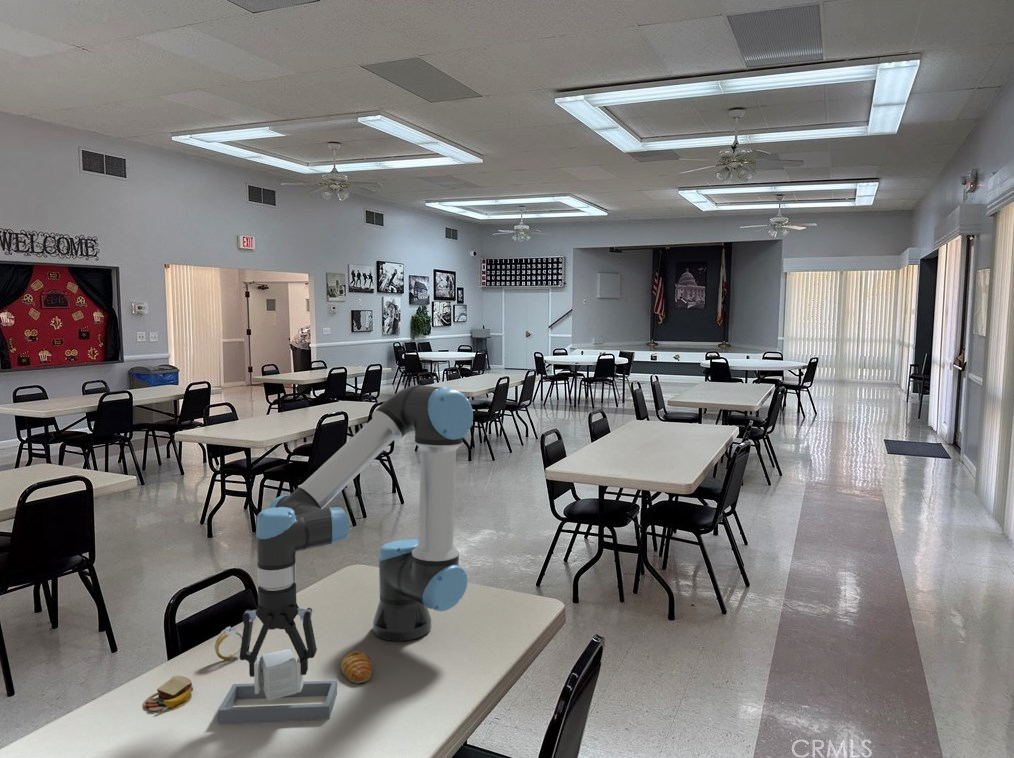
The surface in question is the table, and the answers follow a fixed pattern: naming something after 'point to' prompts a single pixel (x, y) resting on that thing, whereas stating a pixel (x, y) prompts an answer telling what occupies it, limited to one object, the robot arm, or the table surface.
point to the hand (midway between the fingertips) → (279, 689)
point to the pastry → (357, 667)
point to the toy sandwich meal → (170, 695)
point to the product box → (279, 674)
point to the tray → (278, 704)
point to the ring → (221, 638)
